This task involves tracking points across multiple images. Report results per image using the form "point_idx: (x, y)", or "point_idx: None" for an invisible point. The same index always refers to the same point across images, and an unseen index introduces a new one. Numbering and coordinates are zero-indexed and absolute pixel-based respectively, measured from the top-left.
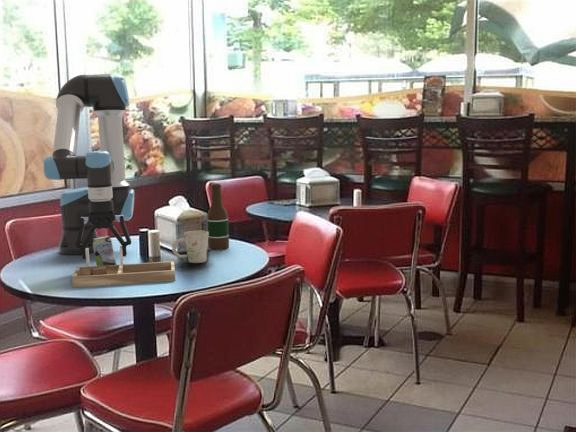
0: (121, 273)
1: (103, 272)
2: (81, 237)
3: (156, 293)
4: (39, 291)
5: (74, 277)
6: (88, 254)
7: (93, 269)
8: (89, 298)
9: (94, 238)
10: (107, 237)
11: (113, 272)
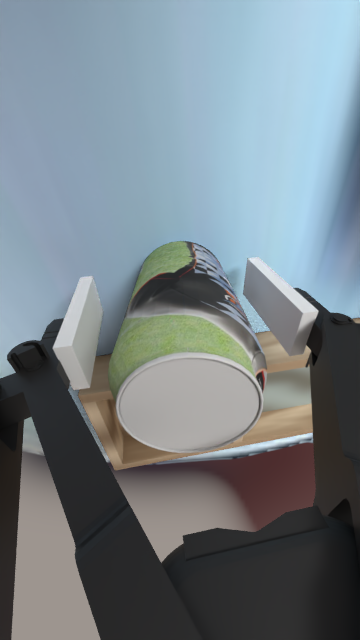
0: (243, 441)
1: None
2: (19, 492)
3: (290, 437)
4: (25, 441)
5: (121, 468)
6: (89, 344)
7: (167, 451)
8: (169, 462)
9: (119, 396)
10: (248, 423)
11: None
